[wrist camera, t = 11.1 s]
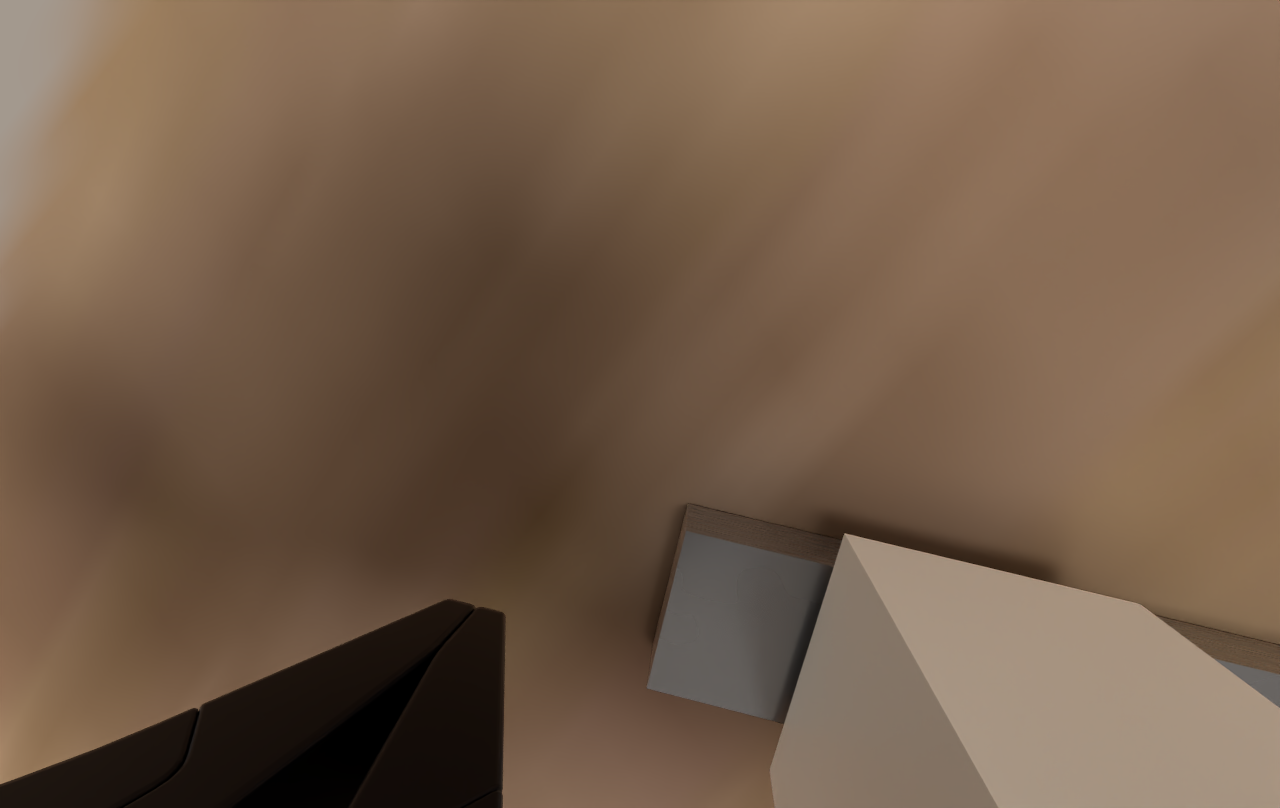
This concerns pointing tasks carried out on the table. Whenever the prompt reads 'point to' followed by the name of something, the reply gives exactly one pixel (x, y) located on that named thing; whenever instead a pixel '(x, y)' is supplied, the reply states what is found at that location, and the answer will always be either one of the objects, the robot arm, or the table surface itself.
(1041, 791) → the white rectangular block
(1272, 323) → the table surface
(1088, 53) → the table surface
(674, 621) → the rail
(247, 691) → the robot arm
